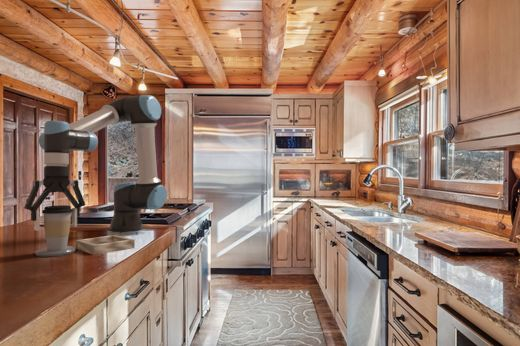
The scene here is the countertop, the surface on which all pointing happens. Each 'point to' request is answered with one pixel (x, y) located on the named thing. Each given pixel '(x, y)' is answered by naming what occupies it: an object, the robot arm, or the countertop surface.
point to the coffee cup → (57, 226)
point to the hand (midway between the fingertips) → (56, 228)
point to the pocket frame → (104, 244)
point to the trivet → (55, 252)
